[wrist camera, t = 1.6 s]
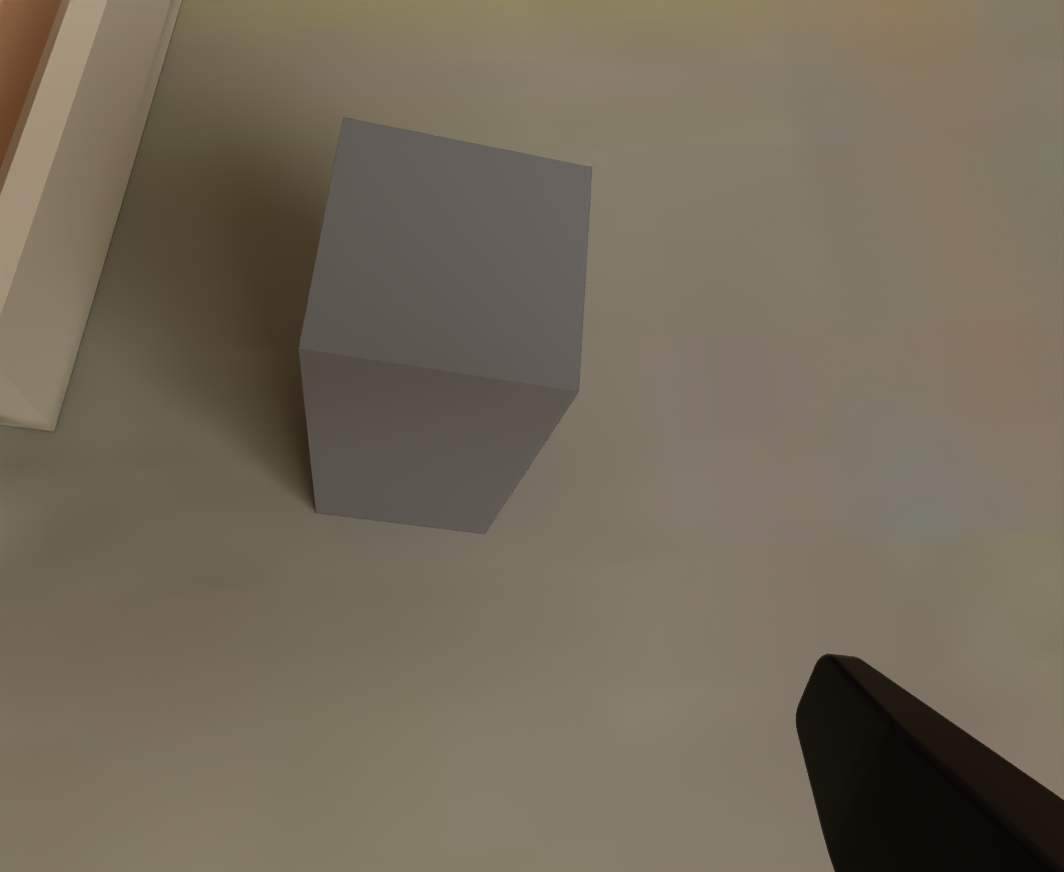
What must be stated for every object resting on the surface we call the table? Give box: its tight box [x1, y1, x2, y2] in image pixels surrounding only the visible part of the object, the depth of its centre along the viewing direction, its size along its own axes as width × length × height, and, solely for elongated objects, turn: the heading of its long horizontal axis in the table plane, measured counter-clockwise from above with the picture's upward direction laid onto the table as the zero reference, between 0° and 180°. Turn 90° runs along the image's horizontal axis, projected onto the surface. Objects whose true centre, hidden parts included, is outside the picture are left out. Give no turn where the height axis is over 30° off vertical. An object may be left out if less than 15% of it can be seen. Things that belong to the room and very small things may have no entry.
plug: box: [299, 117, 592, 534], centre depth 19 cm, size 4×4×10 cm
